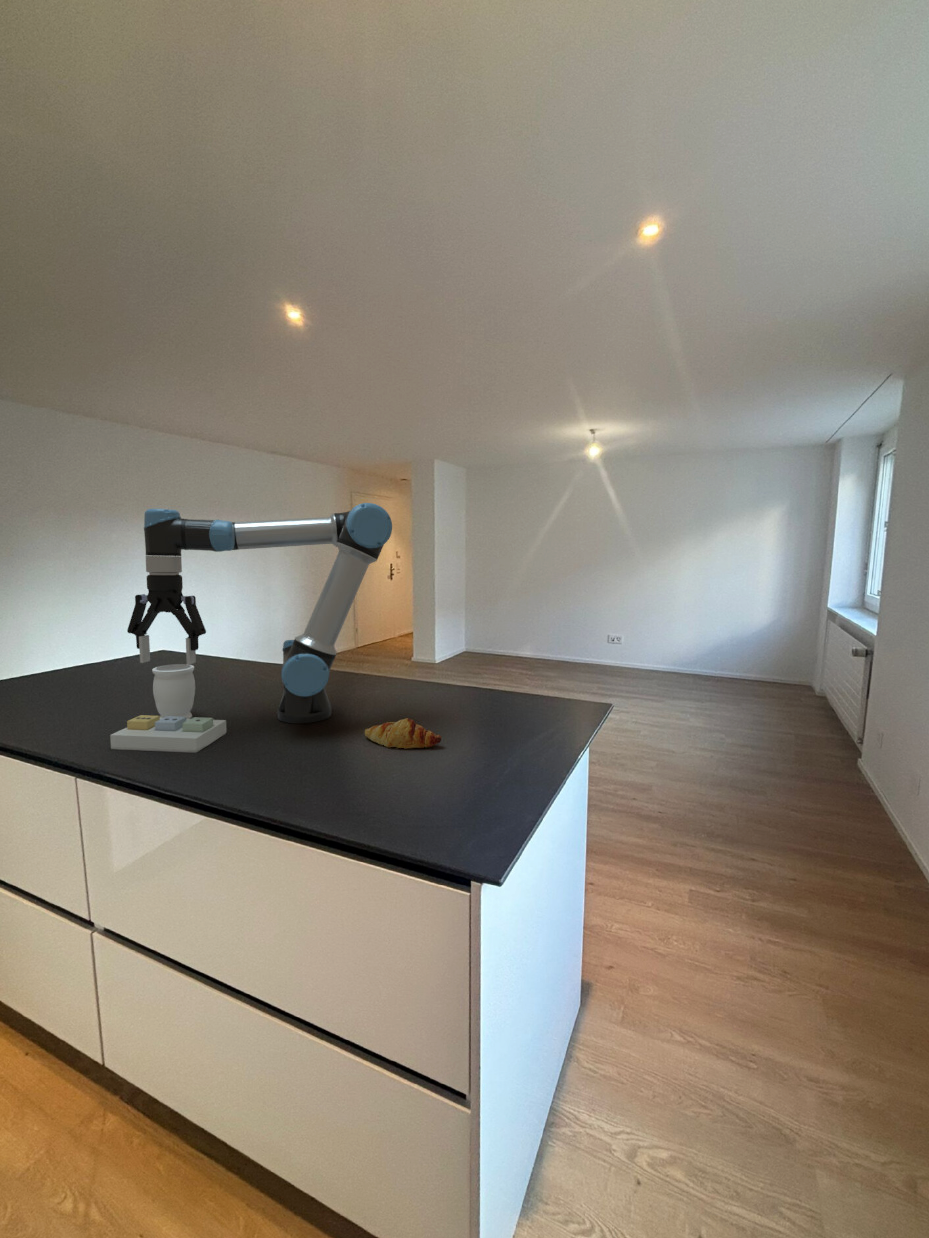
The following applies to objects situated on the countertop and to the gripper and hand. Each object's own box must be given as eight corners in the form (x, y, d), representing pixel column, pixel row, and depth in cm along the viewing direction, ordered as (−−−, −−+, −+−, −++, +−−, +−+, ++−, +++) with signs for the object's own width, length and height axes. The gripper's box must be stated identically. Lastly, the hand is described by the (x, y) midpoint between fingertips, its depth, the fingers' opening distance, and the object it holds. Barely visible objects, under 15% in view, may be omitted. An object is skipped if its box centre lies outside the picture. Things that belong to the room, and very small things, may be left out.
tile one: (213, 729, 131) (213, 717, 131) (202, 735, 126) (202, 723, 126) (194, 728, 131) (193, 716, 131) (182, 735, 126) (182, 722, 126)
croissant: (359, 755, 132) (352, 733, 128) (374, 726, 140) (367, 705, 136) (438, 763, 127) (433, 741, 122) (448, 733, 135) (444, 711, 130)
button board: (226, 733, 136) (226, 720, 135) (196, 752, 122) (196, 738, 121) (149, 730, 137) (148, 717, 136) (111, 749, 123) (110, 734, 122)
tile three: (160, 727, 132) (159, 715, 131) (147, 733, 127) (146, 721, 126) (141, 726, 132) (140, 714, 131) (127, 732, 127) (127, 720, 126)
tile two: (186, 728, 131) (186, 716, 131) (174, 734, 126) (174, 722, 126) (167, 727, 131) (167, 715, 131) (155, 734, 127) (154, 721, 126)
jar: (183, 725, 141) (181, 671, 139) (145, 724, 141) (143, 670, 140) (203, 713, 152) (201, 664, 150) (168, 712, 152) (166, 663, 150)
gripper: (219, 574, 128) (222, 661, 130) (128, 572, 129) (132, 658, 131) (203, 575, 120) (206, 667, 123) (106, 573, 121) (111, 664, 124)
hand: (168, 662), depth 127 cm, fingers open, 11 cm apart
